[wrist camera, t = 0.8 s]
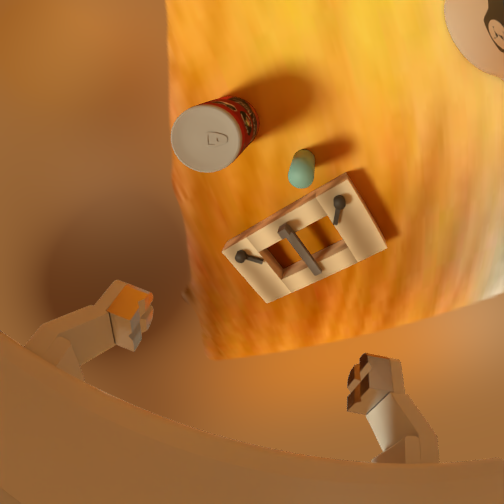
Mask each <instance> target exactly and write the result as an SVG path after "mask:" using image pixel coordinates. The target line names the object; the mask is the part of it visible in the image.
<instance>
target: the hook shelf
mask: <svg viewBox="0 0 504 504" xmlns="http://www.w3.org/2000/svg"><path fill="white" fill-rule="evenodd" d="M326 215H328V217H329V218H330V220H331V221H332V223H333V225H334V226H335V227H336V229H337V230H338V232H339V233H340V235H341V236H342V238H343V239H342V240H340V241H338V242H336V243H334V244H332V245H330V246H328V247H326V248H324V249H322V250H320V251H318V252H316V253H314V254H312V255H311V254H310V253H309V251H308V250H307V248H306V247H305V246H304V244H303V243H302V242H301V240H300V239H299V238H298V236H297V235H296V233H295V232H297V231H299V230H300V229H302V228H304V227H306V226H308V225H310V224H312V223H313V222H315V221H317V220H319V219H321V218H323V217H324V216H326ZM284 238H287V239H288V241H289V242H290V243H291V245H292V246H293V247H294V249H295V250H296V251H297V253H298V254H299V255H300V257H301V258H302V260H300V261H298V262H296V263H294V264H292V265H290V266H288V267H286V268H284V269H283V268H282V266H281V265H280V264H279V263H278V261H277V260H276V259H275V258H274V256H273V255H272V254H271V253H270V251H269V250H268V249H267V247H269V246H271V245H273V244H275V243H276V242H278V241H280V240H282V239H284ZM386 248H387V245H386V242H385V238H384V236H383V234H382V232H381V230H380V229H379V227H378V225H377V223H376V221H375V220H374V218H373V216H372V214H371V213H370V211H369V209H368V207H367V206H366V204H365V202H364V201H363V199H362V197H361V196H360V194H359V192H358V191H357V189H356V187H355V186H354V184H353V182H352V181H351V179H350V178H349V176H348V174H347V173H346V172H345V173H344V174H342V175H340V176H338V177H337V178H335V179H333V180H331V181H330V182H328V183H326V184H324V185H323V186H321V187H319V188H318V189H316V190H314V191H312V192H311V193H309V194H307V195H305V196H304V197H302V198H300V199H298V200H297V201H295V202H293V203H292V204H290V205H288V206H286V207H285V208H283V209H281V210H280V211H278V212H276V213H275V214H273V215H271V216H269V217H268V218H266V219H264V220H263V221H261V222H259V223H258V224H256V225H254V226H253V227H251V228H249V229H247V230H246V231H244V232H242V233H241V234H239V235H237V236H236V237H234V238H232V239H231V240H229V241H227V243H226V244H225V246H224V248H223V250H222V253H223V254H224V255H225V256H226V257H227V259H228V260H229V261H230V262H231V263H232V264H233V265H234V267H235V268H236V269H237V270H238V271H239V272H240V273H241V275H242V276H243V277H244V278H245V279H246V280H247V281H248V283H249V284H250V285H251V286H252V287H253V288H254V289H255V291H256V292H257V293H258V294H259V295H260V296H261V297H262V299H263V300H264V301H265V302H266V303H269V302H271V301H274V300H276V299H278V298H281V297H283V296H285V295H287V294H290V293H292V292H294V291H297V290H299V289H301V288H303V287H305V286H308V285H310V284H312V283H314V282H317V281H319V280H321V279H323V278H325V277H327V276H330V275H332V274H334V273H336V272H338V271H340V270H343V269H345V268H347V267H349V266H351V265H353V264H355V263H357V262H359V261H361V260H364V259H366V258H368V257H370V256H372V255H374V254H376V253H378V252H380V251H382V250H384V249H386Z"/></svg>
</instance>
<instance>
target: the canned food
mask: <svg viewBox="0 0 504 504" xmlns="http://www.w3.org/2000/svg"><path fill="white" fill-rule="evenodd" d="M258 129H259V119H258V115H257V113H256V111H255V109H254V108H253V107H252V106H251V105H250V104H249V103H248V102H247V101H245V100H243V99H241V98H237V97H230V96H228V97H222V98H218V99H215V100H212V101H208V102H205V103H202V104H199V105H196V106H194V107H191V108H189V109H188V110H186V111H185V112H183V113H182V114H181V115H180V116H179V117H178V118H177V120H176V121H175V123H174V125H173V127H172V131H171V143H172V148H173V150H174V152H175V154H176V156H177V157H178V159H179V160H180V161H181V162H182V163H183V164H185V165H186V166H187V167H189V168H191V169H193V170H196V171H199V172H215V171H219V170H221V169H223V168H225V167H227V166H228V165H230V164H231V163H232V162H233V161H234V160H235V159H236V158H237V157H238V156H239V155H240V154H241V153H242V152H243V151H244V149H245V148H246V147H247V146H248V145H249V144H250V143H251V142H252V141H253V139H254V138H255V137H256V135H257V133H258Z"/></svg>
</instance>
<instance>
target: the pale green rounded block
mask: <svg viewBox="0 0 504 504" xmlns="http://www.w3.org/2000/svg"><path fill="white" fill-rule="evenodd" d="M314 168H315V157H314V155H313V153H312V152H310V151H308V150H304V149H303V150H299V151H297V152H296V153H295V155H294V157H293V160H292V163H291V166H290V170H289V173H288V179H289V181H290V183H291V184H292V185H293V186H295V187H297V188H306V187H308V186H310V185H311V184H312V182H313V179H314Z"/></svg>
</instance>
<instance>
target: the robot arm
mask: <svg viewBox="0 0 504 504" xmlns="http://www.w3.org/2000/svg"><path fill="white" fill-rule="evenodd" d="M444 14H445V20H446V25H447V28H448V30H449V33H450V35H451V37H452V39H453V41H454V43H455V45H456V46H457V48H458V49H459V50H460V52H461V53H462V54H463V55H464V57H465V58H466V59H467V60H468V61H469V62H471V63H472V64H473V65H474V66H476V67H477V68H478V69H480V70H482V71H484V72H486V73H488V74H491V75H495V76H497V77H500V78H501V79H502V80H503V81H504V0H445V5H444ZM152 301H153V294H152V293H151V292H148V291H145V290H143V289H140V288H138V287H135V286H133V285H130V284H127V283H125V282H122V281H120V280H116V281H114V282H113V283H112V284H111V285H110V287H109V288H108V289H107V290H106V292H105V293H104V294H103V295H102V296H101V298H100V299H99V300H98V302H97V303H96V304H95V305H94V306H92V305H89V306H87V307H84V308H82V309H79V310H77V311H74V312H72V313H69V314H67V315H64V316H62V317H59V318H57V319H54V320H52V321H49V322H47V323H44V324H42V325H41V326H40V327H39V328H38V330H37V331H36V332H35V333H34V335H33V336H32V337H31V338H30V340H29V341H28V342H27V343H26V345H25V346H22V345H20V344H19V343H18V342H16V341H15V340H13V339H12V338H10V337H9V336H7V335H6V334H4V333H3V332H2V331H0V504H504V460H503V459H502V458H489V459H481V460H472V461H462V462H447V463H440V462H439V450H438V440H437V435H436V434H435V432H434V431H433V429H432V428H431V427H430V425H429V423H428V422H427V421H426V419H425V418H424V416H423V415H422V414H421V412H420V411H419V409H418V408H417V406H416V405H415V404H414V402H413V401H412V399H411V398H410V397H409V395H407V394H405V389H404V382H403V374H402V367H401V362H400V360H398V359H393V358H387V357H383V356H378V355H373V354H368V353H364V354H363V355H362V356H361V357H360V363H359V364H356V365H354V367H353V368H352V369H351V371H350V374H349V377H348V385H347V388H348V389H349V390H350V392H351V393H350V395H349V396H348V397H347V411H348V412H353V413H358V414H364V415H366V417H367V419H368V421H369V424H370V425H371V428H372V430H373V432H374V434H375V436H376V438H377V440H378V442H379V444H380V446H381V448H382V450H383V453H381V454H379V455H378V456H376V457H375V458H373V459H372V462H360V461H349V460H339V459H331V458H323V457H316V456H309V455H304V454H298V453H292V452H287V451H282V450H276V449H271V448H267V447H263V446H258V445H254V444H250V443H245V442H242V441H238V440H234V439H230V438H226V437H223V436H220V435H216V434H212V433H209V432H206V431H203V430H200V429H196V428H193V427H190V426H187V425H184V424H182V423H179V422H176V421H173V420H170V419H167V418H165V417H162V416H160V415H157V414H154V413H152V412H149V411H147V410H144V409H142V408H139V407H137V406H134V405H132V404H130V403H127V402H125V401H123V400H121V399H119V398H116V397H114V396H112V395H110V394H108V393H106V392H104V391H102V390H99V389H97V388H95V387H93V386H91V385H89V384H87V383H85V382H84V380H85V379H84V375H83V373H82V371H81V368H80V366H81V365H82V364H84V363H86V362H87V361H89V360H91V359H93V358H94V357H96V356H98V355H99V354H101V353H103V352H105V351H106V350H108V349H110V348H111V347H113V346H115V344H116V345H119V346H121V347H124V348H126V349H129V350H132V351H135V349H136V348H137V346H138V345H139V343H140V341H141V340H142V336H141V333H143V332H145V331H147V329H148V328H149V326H150V323H151V320H152V317H153V307H152V306H151V302H152Z"/></svg>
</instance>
